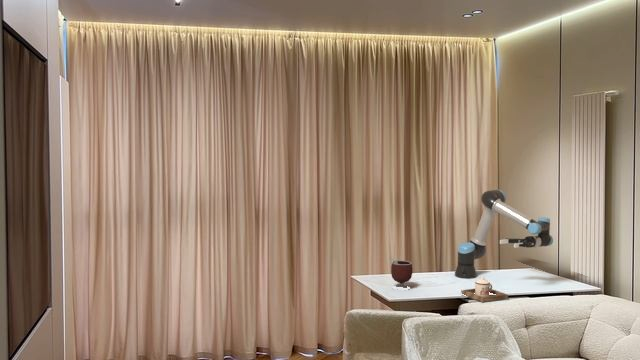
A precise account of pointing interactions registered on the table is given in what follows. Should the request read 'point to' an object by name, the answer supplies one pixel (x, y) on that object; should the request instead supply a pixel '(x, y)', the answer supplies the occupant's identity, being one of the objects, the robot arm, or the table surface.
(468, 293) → the tray
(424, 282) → the table surface
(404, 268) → the mate gourd
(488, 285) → the teacup with lid
